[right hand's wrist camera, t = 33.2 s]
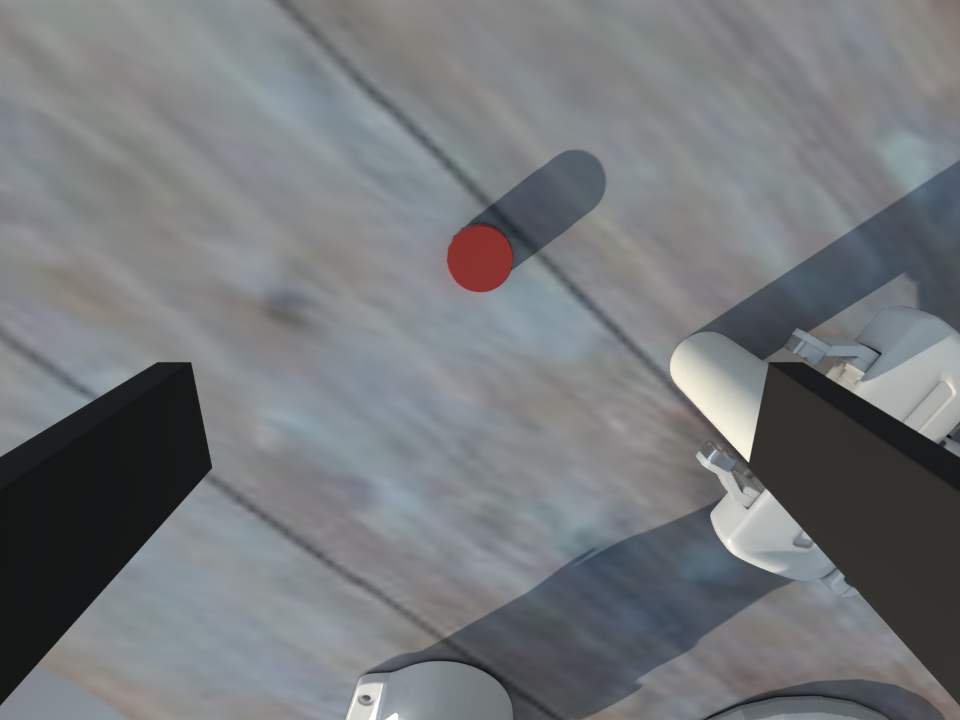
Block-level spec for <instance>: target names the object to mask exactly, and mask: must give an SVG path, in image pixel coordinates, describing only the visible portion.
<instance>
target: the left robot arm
mask: <svg viewBox="0 0 960 720" xmlns="http://www.w3.org/2000/svg"><path fill="white" fill-rule="evenodd" d="M783 347H785V348H786V349H788V350H790V351H791V352H793V353H795V354H796V355H798V356H800V357H802V358H803V359H805V360H807V361H808V362H810V363H812V364H814V365H815V366H816V365H817V364H818V363H819V362H820V360H821V359H822V358H823V357H824V356H835V357H837V358H838V359H839V360H838V361H837V362H836V364H835V365H834V366H833V367H832V368H831V370H830V371H829V372H828V373H827V374H826V377H828V378H829V379H831V380H833V381H834V382H836V383H838V384H839V385H841V386H843V387H844V388H846V389H848V390H849V391H851V392H853V393H854V394H856V395H858V396H859V397H861V398H863V399H864V400H866V401H868V402H869V403H871V404H873V405H874V406H876V407H877V408H879V409H881V410H882V411H884V412H886V413H887V414H889V415H891V416H892V417H894V418H896V419H897V420H899V421H901V422H902V423H904V424H906V425H907V426H909V427H911V428H912V429H914V430H916V431H917V432H919V433H921V434H922V435H924V436H925V437H927V438H929V439H930V440H932V441H934V442H935V443H937V444H939V445H940V446H942V447H944V448H945V449H947V450H949V451H950V452H952V453H954V454H955V455H957V456H959V457H960V444H959V443H957V442H956V441H954V440H952V438H951V436H953V434H955V433H956V432H957V431H958V429H959V428H960V333H959V332H957V331H956V330H955V329H954V328H953V327H951V326H950V325H949V324H947V323H946V322H944V321H943V320H941V319H940V318H938V317H936V316H934V315H932V314H929V313H926V312H924V311H921V310H918V309H914V308H911V307H907V306H895V307H888V308H884V309H882V310H880V311H879V312H878V313H877V314H876V316H875V317H874V318H873V319H872V320H871V322H870V323H869V324H868V325H867V326H866V328H865V329H864V330H863V331H862V332H861V334H860V335H859V336H858V337H857V338H856V340H855V341H853V340H851V339H849V338H847V337H844V336H841V337H816V338H815V337H814V336H812V335H810V334H808V333H806V332H804V331H802V330H800V329H798V328H796V329H795V331H794V332H793V333H792V335H791V336H790V337H789V338H788V340H787V341H786V342H785V344H784V345H783ZM696 457H697V458H698V460H699V461H700V462H701V464H702V465H704V466H705V467H706V468H707V469H709V470H711V471H713V472H715V473H717V475H718V477H719V479H720V481H721V483H722V485H723V486H724V487H725V489H726V490H727V491H728V493H727V494H726V495H725V496H724V498H723V499H722V500H721V501H720V502H719V503H718V505H717V506H716V507H715V508H714V509H713V511H712V512H711V521H712V524H713V527H714V529H715V532H716V533H717V535H718V537H719V538H720V540H721V541H722V543H723V544H724V545H725V546H726V548H727V549H728V550H729V551H730V552H731V553H732V554H734V555H735V556H737V557H739V558H741V559H742V560H744V561H746V562H749V563H751V564H753V565H755V566H757V567H760V568H762V569H765V570H767V571H770V572H772V573H775V574H778V575H781V576H784V577H787V578H790V579H794V580H800V581H811V580H816V579H820V580H821V581H822V582H823V583H824V584H825V585H826V586H827V587H829V588H830V589H831V590H832V591H833V592H835V593H836V594H838V595H840V596H843V597H852V596H855V595H857V594H859V592H858V591H857V590H856V589H855V588H854V586H853V585H852V584H851V583H850V582H849V581H848V580H847V579H846V577H845V576H844V575H843V574H842V573H841V572H840V571H839V570H838V568H837V567H836V566H835V565H834V564H833V563H832V562H831V561H830V559H829V558H828V557H827V556H826V555H825V554H824V553H823V552H822V551H821V549H820V548H819V547H818V546H817V545H816V544H815V543H814V542H813V540H812V539H811V538H810V537H809V536H808V535H807V534H806V533H805V531H804V530H803V529H802V528H801V527H800V526H799V525H798V524H797V522H796V521H795V520H794V519H793V518H792V517H791V516H790V515H789V514H788V512H787V511H786V510H785V509H784V508H783V507H782V506H781V505H780V503H779V502H778V501H777V500H776V499H775V498H774V497H773V496H772V494H771V493H770V492H769V491H768V490H767V489H766V488H765V487H764V485H763V484H762V483H761V482H760V481H759V480H758V479H757V478H756V476H755V475H754V474H753V473H752V472H751V471H750V470H749V469H747V470H746V471H745V472H744V474H743V475H742V474H740V473H738V472H736V471H733V472H732V473H731V471H730V470H731V469H732V467H733V466H734V465H735V463H736V462H737V461H736V460H735V459H734V457H733V456H731V455H730V453H729V452H728V451H727V450H726V449H725V448H723V447H722V446H720V445H716V444H715V443H714V442H712V441H710V440H708V441H707V442H706V443H705V444H704V446H703V447H702V448H701V449H700V451H699V452H698V453H697V455H696ZM345 720H513V709H512V703H511V700H510V698H509V696H508V694H507V692H506V690H505V689H504V688H503V686H502V685H501V684H500V683H499V682H498V681H497V680H496V679H494V678H493V677H492V676H490V675H489V674H487V673H485V672H484V671H482V670H480V669H477V668H475V667H472V666H469V665H466V664H462V663H457V662H449V661H430V662H423V663H418V664H414V665H411V666H408V667H406V668H403V669H400V670H398V671H395V672H391V673H373V674H367V675H364V676H362V677H361V678H360V679H359V681H358V684H357V687H356V690H355V693H354V696H353V699H352V702H351V705H350V708H349V710H348V713H347V716H346V719H345Z"/></svg>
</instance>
